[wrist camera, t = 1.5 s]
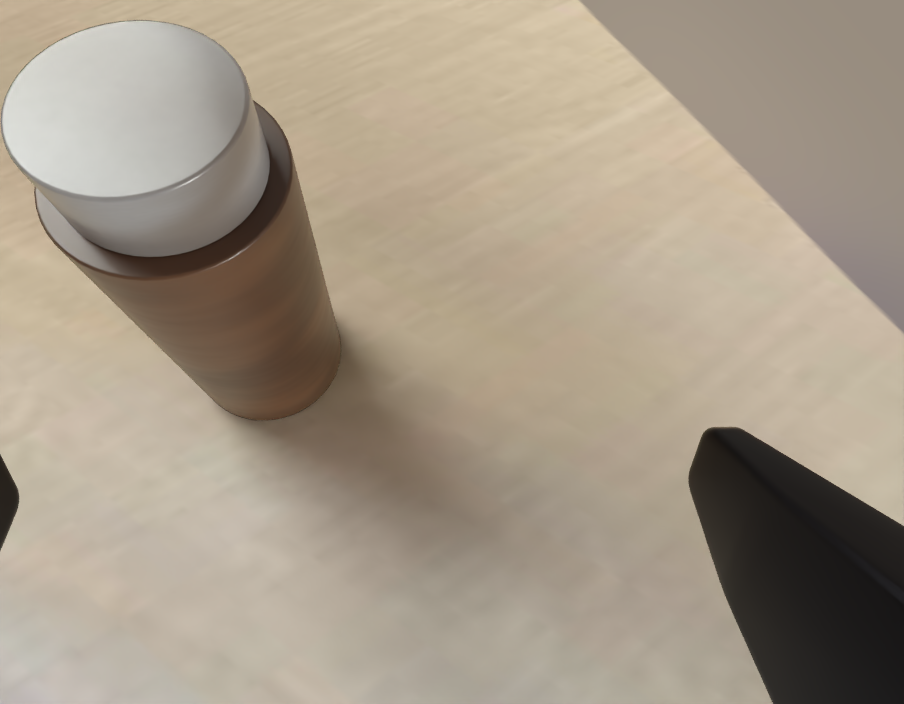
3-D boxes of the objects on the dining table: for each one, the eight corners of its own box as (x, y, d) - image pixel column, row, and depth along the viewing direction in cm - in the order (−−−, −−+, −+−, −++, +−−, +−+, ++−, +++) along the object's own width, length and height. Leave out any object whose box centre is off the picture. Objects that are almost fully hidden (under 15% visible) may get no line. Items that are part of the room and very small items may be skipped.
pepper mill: (287, 447, 22) (145, 275, 10) (167, 375, 23) (-101, 135, 11) (367, 331, 24) (330, 72, 12) (255, 269, 25) (113, -34, 13)
